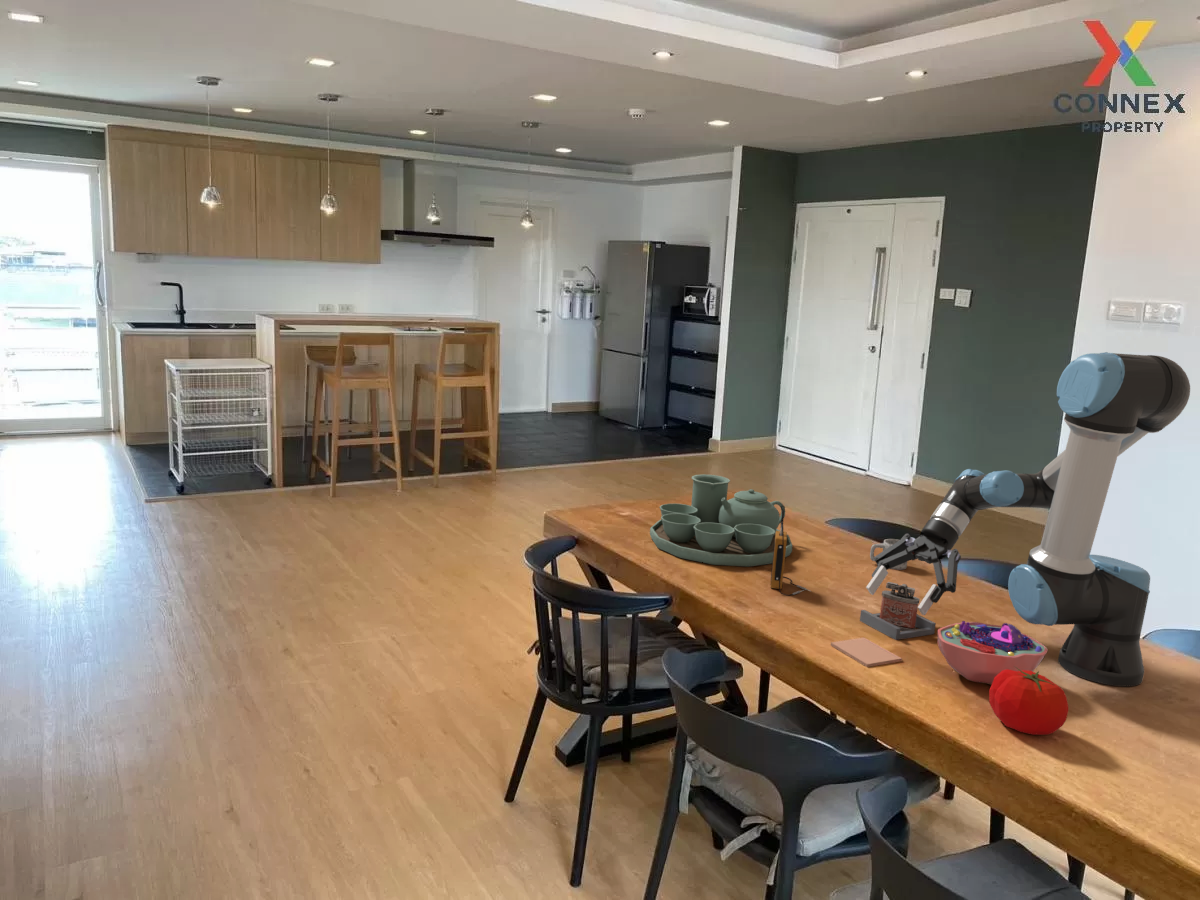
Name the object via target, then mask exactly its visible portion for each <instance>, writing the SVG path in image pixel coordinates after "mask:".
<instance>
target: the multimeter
mask: <svg viewBox="0 0 1200 900" xmlns="http://www.w3.org/2000/svg"><path fill="white" fill-rule="evenodd" d="M782 506H783V507H784V510H785V511H786V507H785V505H784V504H783V505H782ZM782 506H781V508H780V510H781V509H782ZM784 510H783V509H782V518H781V523H780V531H776V535H775V543H774V553H773V562H772V564H771V565H772V566H771V575H770V588H771V589H776V590H777V589H778V590H779V593H780V594H781V595H784V596H787V597H790V596H793V595H797V594H801V592H803V591H809V592H811V590H810V589H808V588H807V587H804V586H801V585H798V584H795V583H792V582H793V580H792V579H791V578H790V577H787V576H784V571H785V561H786V557H785V553H786V544H787V535H788V532H787V531H784V519H785V517H784ZM784 578H785V579H788V580H789V581H790V582H789V584H790V585H792V586H796V588H800V589H802V590H798V591H795V592H793V593H790V594H786V593H783V592H782V591H781V590H782V589H783V583H784V582H783V581H784Z"/></svg>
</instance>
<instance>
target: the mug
mask: <svg viewBox="0 0 1200 900" xmlns="http://www.w3.org/2000/svg"><path fill="white" fill-rule="evenodd" d="M899 540H900V539H895V538H887V539H884V540H883V542H882V543H875V544H872V546H871V547H870V553H869V557H870V560H871V561H873V562H875V560H874V557H875V550H876V549H877V548H879V549H882V552H883V551H884V550H886V549H887V548H889V547H890V546H892V545H893V544H895V543H896V542H898V541H899ZM904 551H905V550H904ZM907 565H908V561H907V562H905V563H902V564H900V565H898V566H895V567H893V568H890V569H891V570H898V571H899V570H900V571H901V570H902V571H903V570H906V569H907V567H908V566H907ZM890 569H889V570H890Z"/></svg>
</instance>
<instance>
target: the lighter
mask: <svg viewBox="0 0 1200 900" xmlns="http://www.w3.org/2000/svg"><path fill="white" fill-rule="evenodd" d="M885 588H886V589H889V590H882V591H881V605H880V612H879V613H880V618H881V619H883V620H885V621H887V622H889V623H891V624H893V625H895V626H897V627H899V628H901V629H900V632H902V631H909V630H915V629H917V627H915V623H916V616H917V614H918V610H919V609H918V608H917V607H918V606H919V604H920V598H919V597H917V596H914V595H915V593H916V588H915V587H911V586H908V585H907V584H905V583H903V584H899V583H895V582H891V581H887V582H886V585H885Z"/></svg>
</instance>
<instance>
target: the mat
mask: <svg viewBox="0 0 1200 900" xmlns="http://www.w3.org/2000/svg"><path fill="white" fill-rule="evenodd" d="M830 646H831V647H832V648H834V649H836V650H838V651H839V652H841V653H842V654H844V655H846V656H847V657H850V658H851V659H853V660H854V661H856V662H858V663H859V664H861V665H863V666H864V667H866V668H869V667H875V666H880V665H886V664H894V663H898V662H902V660H903V658H902V657H900V656H899V655H896V654H895V653H893V652H891V651H889V650H888V649H886V648H884V647H882V646H880V645H879V644H877V643H875V642H873V641H871V640H870V639H868V638H866V637H858V638H857V637H856V638H852V639H851V638H850V639H844V640H839V641H837V640H836V641H833V642H830Z"/></svg>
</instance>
